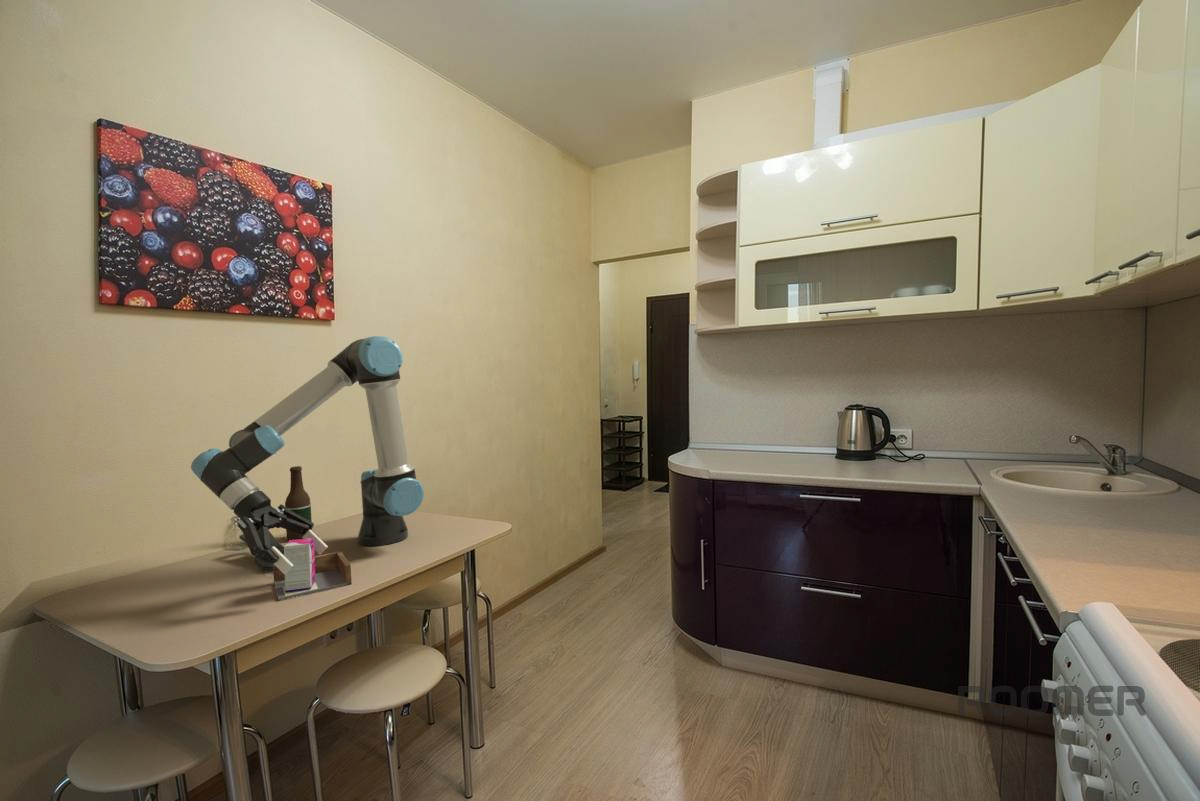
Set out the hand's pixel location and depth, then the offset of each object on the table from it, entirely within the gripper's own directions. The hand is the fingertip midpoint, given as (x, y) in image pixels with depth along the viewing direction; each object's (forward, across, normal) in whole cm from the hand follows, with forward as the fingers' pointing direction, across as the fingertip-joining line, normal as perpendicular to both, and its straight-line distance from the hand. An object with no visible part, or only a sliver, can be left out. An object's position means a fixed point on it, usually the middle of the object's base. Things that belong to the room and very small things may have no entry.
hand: (307, 560), depth 132 cm
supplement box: (+3, 0, -7) cm, 8 cm away
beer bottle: (-17, -43, -28) cm, 54 cm away
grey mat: (+4, -4, -7) cm, 9 cm away
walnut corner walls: (+4, -4, -7) cm, 9 cm away
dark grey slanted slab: (-13, -22, -25) cm, 35 cm away
